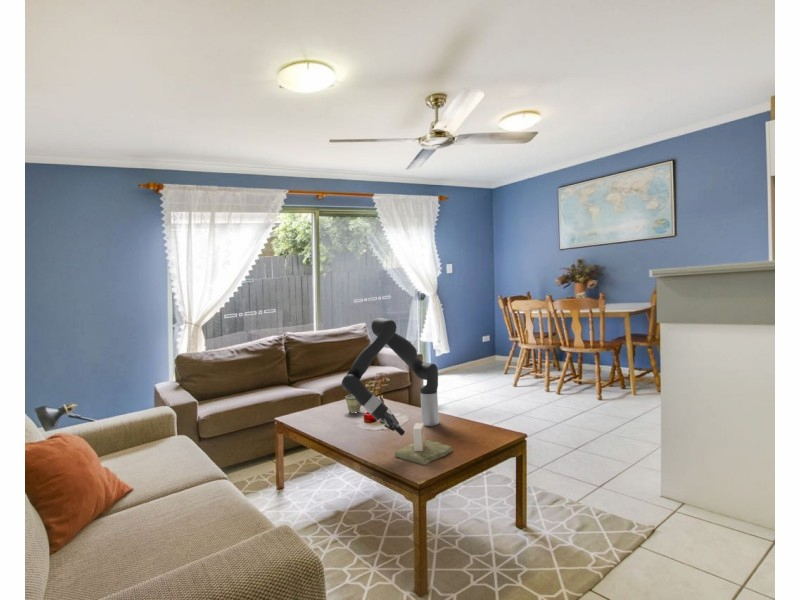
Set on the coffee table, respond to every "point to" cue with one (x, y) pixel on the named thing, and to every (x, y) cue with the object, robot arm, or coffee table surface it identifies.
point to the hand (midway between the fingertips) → (403, 433)
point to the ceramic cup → (352, 404)
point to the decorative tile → (424, 452)
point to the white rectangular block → (419, 436)
